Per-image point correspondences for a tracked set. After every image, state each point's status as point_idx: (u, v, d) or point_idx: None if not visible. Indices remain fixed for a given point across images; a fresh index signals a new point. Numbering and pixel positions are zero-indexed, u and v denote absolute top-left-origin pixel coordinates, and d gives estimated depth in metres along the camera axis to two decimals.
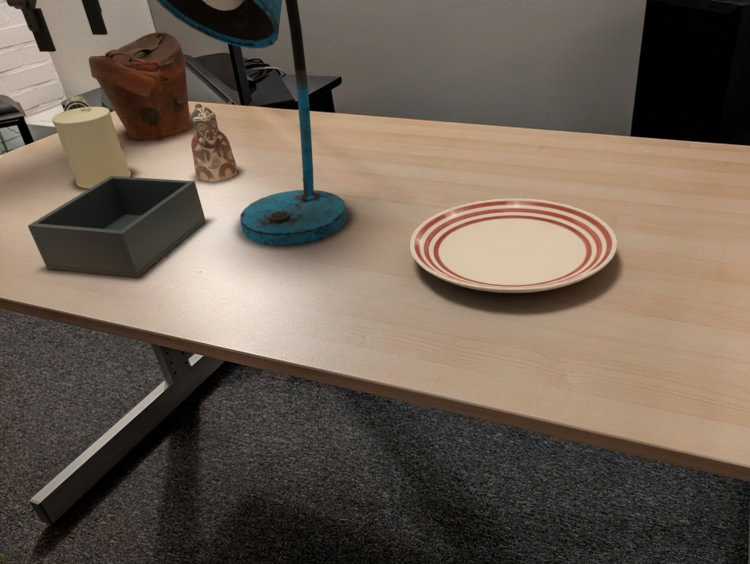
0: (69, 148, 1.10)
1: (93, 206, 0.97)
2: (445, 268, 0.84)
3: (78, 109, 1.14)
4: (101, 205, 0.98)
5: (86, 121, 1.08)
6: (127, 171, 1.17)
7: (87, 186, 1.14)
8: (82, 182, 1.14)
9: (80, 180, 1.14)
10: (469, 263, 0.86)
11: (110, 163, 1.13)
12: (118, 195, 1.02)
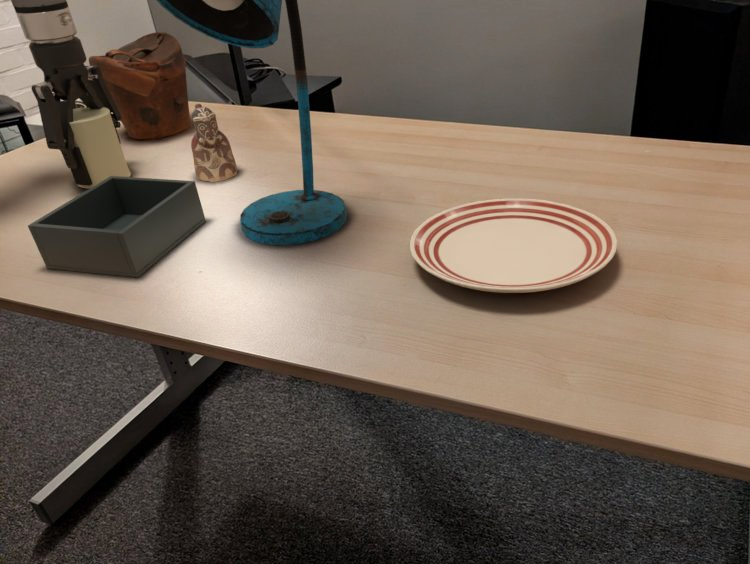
0: None
1: (93, 206, 0.97)
2: (445, 268, 0.84)
3: (78, 109, 1.14)
4: (101, 205, 0.98)
5: (86, 121, 1.08)
6: (127, 171, 1.17)
7: (87, 186, 1.14)
8: None
9: None
10: (469, 263, 0.86)
11: (110, 163, 1.13)
12: (118, 195, 1.02)
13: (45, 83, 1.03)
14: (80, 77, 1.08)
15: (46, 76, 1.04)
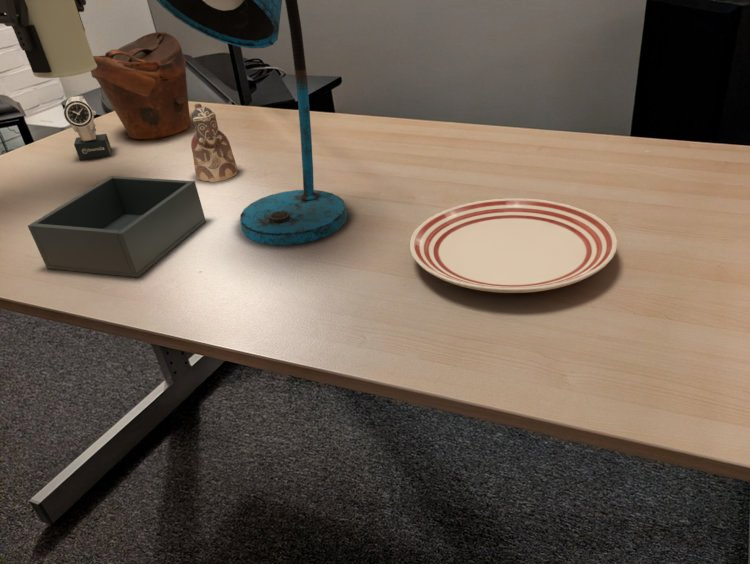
0: None
1: (93, 206, 0.97)
2: (445, 268, 0.84)
3: None
4: (101, 205, 0.98)
5: None
6: (92, 62, 1.03)
7: (46, 75, 0.99)
8: None
9: None
10: (469, 263, 0.86)
11: (71, 47, 0.99)
12: (118, 195, 1.02)
13: None
14: None
15: None
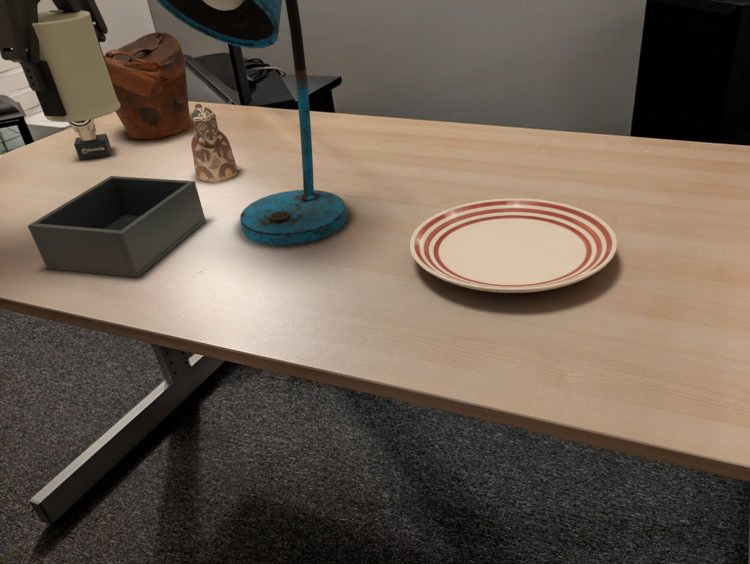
0: None
1: (93, 206, 0.97)
2: (445, 268, 0.84)
3: (47, 13, 0.83)
4: (101, 205, 0.98)
5: (56, 22, 0.77)
6: (114, 101, 0.86)
7: (60, 118, 0.83)
8: None
9: None
10: (469, 263, 0.86)
11: (91, 86, 0.83)
12: (118, 195, 1.02)
13: None
14: None
15: None
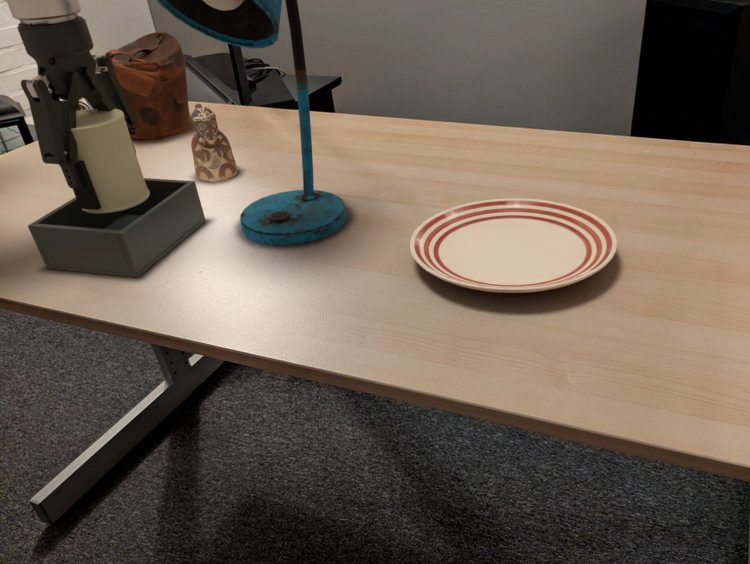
0: None
1: None
2: (445, 268, 0.84)
3: (83, 111, 0.88)
4: None
5: (93, 127, 0.83)
6: (145, 191, 0.92)
7: (94, 210, 0.88)
8: None
9: None
10: (469, 263, 0.86)
11: (124, 180, 0.88)
12: None
13: (39, 77, 0.78)
14: (85, 69, 0.82)
15: (41, 67, 0.78)
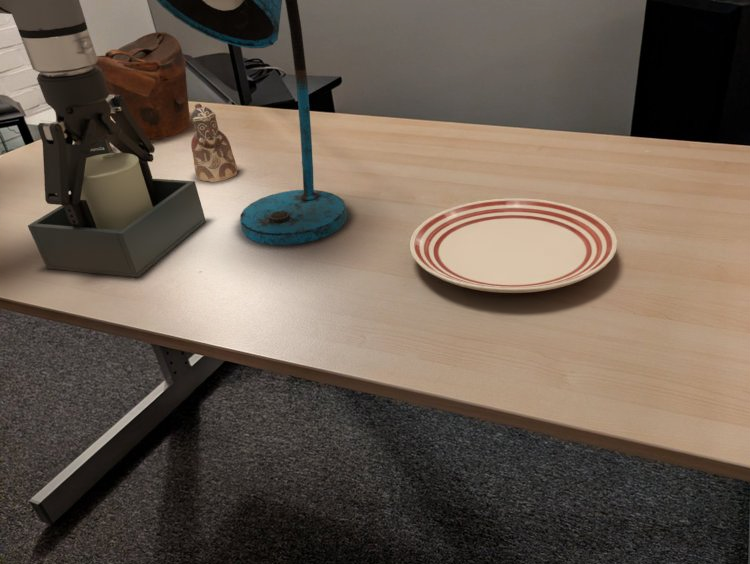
0: (89, 207, 0.88)
1: None
2: (445, 268, 0.84)
3: (99, 156, 0.92)
4: None
5: (110, 174, 0.86)
6: None
7: None
8: None
9: None
10: (469, 263, 0.86)
11: None
12: None
13: (57, 122, 0.81)
14: (101, 116, 0.86)
15: (59, 116, 0.82)
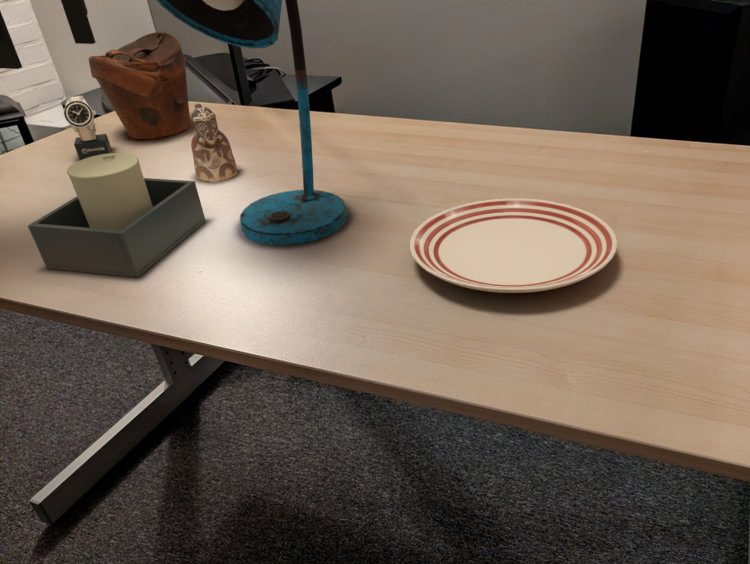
0: (89, 207, 0.88)
1: None
2: (445, 268, 0.84)
3: (99, 156, 0.92)
4: None
5: (110, 174, 0.86)
6: None
7: None
8: None
9: None
10: (469, 263, 0.86)
11: None
12: None
13: None
14: None
15: None
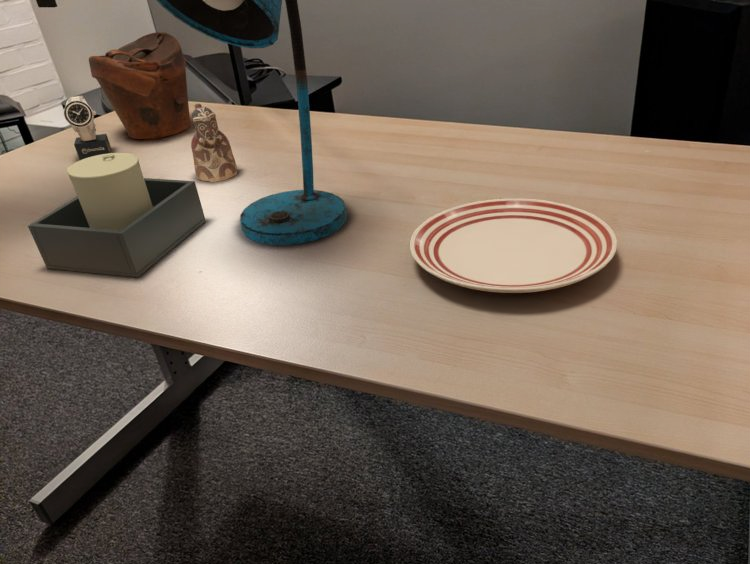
0: (89, 207, 0.88)
1: None
2: (445, 268, 0.84)
3: (99, 156, 0.92)
4: None
5: (110, 174, 0.86)
6: None
7: None
8: None
9: None
10: (469, 263, 0.86)
11: None
12: None
13: None
14: None
15: None
